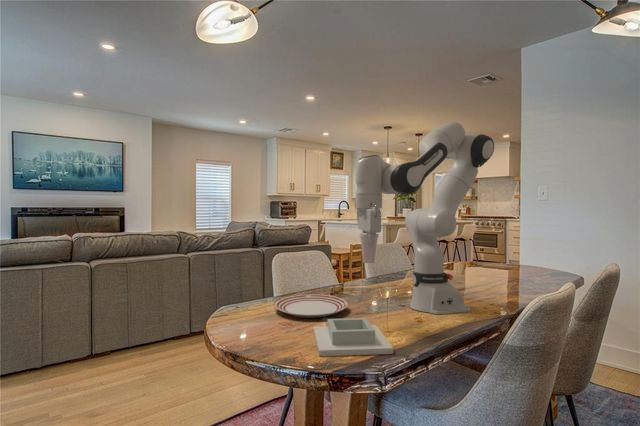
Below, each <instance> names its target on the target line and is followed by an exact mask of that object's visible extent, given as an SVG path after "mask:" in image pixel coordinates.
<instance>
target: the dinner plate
mask: <svg viewBox="0 0 640 426" xmlns="http://www.w3.org/2000/svg"><path fill="white" fill-rule="evenodd" d="M274 307H275V308H276V309H277V310H278V311H280V312H282V313H285V314H288V315H291V316H294V317H298V318H307V319H308V318H310V319H311V318H324V317H328V316H331V315H335V314H337V313H340V312H341V311H343V310H344V309H346V308H347V307H348V302H347V301H346V300H345V299H343V298H341V297H338V296H335V295H334V296H333V295H328V294H310V293H309V294H297V295H292V296H291V295H290V296H287V297H284V298H281V299H279V300H278V301H276V302H275V304H274Z"/></svg>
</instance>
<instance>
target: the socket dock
mask: <svg viewBox="0 0 640 426" xmlns="http://www.w3.org/2000/svg"><path fill="white" fill-rule="evenodd" d="M312 331H313V335H314V340H315V344H316V348H317V354H318V356H319V357H334V356H335V357H336V356H338V357H340V356H361V355H362V356H363V355H364V356H365V355H367V356H368V355H390V354H391V355H393V354H394V347H393V346H392V344H391V342H390V341H389V340H388V339H387V338H386V337H385V335H384V334H383V333H382V331H381V330H380V329H379V328H378V326H377V325H376V324H371V323H370V321H369V320H368V319H367V318H366V317H358V318H357V317H356V318H327V325H326V326H325V325H324V326H323V325H321V326H320V325H319V326H313V330H312Z"/></svg>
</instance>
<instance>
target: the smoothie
mask: <svg viewBox="0 0 640 426" xmlns="http://www.w3.org/2000/svg"><path fill="white" fill-rule="evenodd" d="M359 237H360V243H361V247H360V248H361V255H362V263H363V264H375V258H376V250H377V246H378V245H377V244H378V237H379V233H376V238H375V245H374V246H369V244H368V243H369V242H368V240H369V233H368V232H367V233H359Z"/></svg>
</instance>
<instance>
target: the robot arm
mask: <svg viewBox="0 0 640 426" xmlns="http://www.w3.org/2000/svg"><path fill="white" fill-rule="evenodd" d="M418 151H419V155H420V156H419V157H418V158H416V159H415V160H414V161H409V162H403V163H401V164H396V165H392V164H390V163H388V162H386V161H385V160H383V159H382V157H381V155H380V154H371V155H366V156H362V157H360V158H359V159H357V163H356V166H355V167H356V168H355V183H356V184H355V185H356V192H355V204H354V206H355V207H354V209H356V219H357V220H356V221H357V222H356V223H357V226H358V230H361V232H362V233H367V232H368V233H369V240H368V242H369V243H368V244H369V246H374V245H375V238H376V234H379V233H381V232H382V214H381V213H382V212H381V209H383V194H385V195H396V194H397V195H398V194H401V195H402V194H403V195H411V194H415V193H416V192H417V191H418V190H419V189H420V188H422V187H421V186H422V185H423V183H424V181H425V180H426V178H427V177H428V176H429V175H430V174H431V173H432V172H433V171H434V170H435V169H437V168H438V167H439V165H441V163H442V162H443V161H445V160H446V159H451V160H454V162H453V164H452V166H451V167H450V169H448V171H446V173H444V174H445V175H444V176H443V177H442V178H441V179H440V181H439V183H438V184H437V185H436V187H435V189H434V190H433V193H432V195H433V200H432V202H431V204H430V206H428V207H427V208H425V207H424V208H421V207H420V208H417V209H413V210H411V211H409V212H408V213H407V214H406V216H405V219H404V224H405V225H404V226H405V227H406V229H407V231H408V233H409V235H410V238H411V242H412V243H411V244H412V247H413V255H414V256H413V260H414V261H413V264H414V266H413V267H414V270H413V272H412V285H413V289H412V296H411V301H410V304H409V308H411V309H413V310H415V311H418V312H419V311H420V312H425V313H430V314H434V315H446V314H455V313H467V312H471V307H470V306H469V305H468V304H466V303H465V301H464V300H465V299H464V295H463V293H462V292H461V291H460V290H458V288H456V287H455V286H454V285H452V284H451V283H450V282H449V281H452V280H453V279H454V275H453V274H450V273H446V272H444V268H445V267H444V265H445V264H444V263H445V262H444V261H445V259H444V258H445V257H444V251H443V249H442V248H441V246H440V244H439V241H438V238H445V237H449V236H451V235H452V234H453V233H455V231H456V229H457V218H456V216H457V215H456V214H457V211H458V208H459V206H460V204H461V203H462V201H463V200H464V198H465V197H466V196H467V194H468V192H470V189H471V188H472V186H473V184H474V182H475V180H476V178H477V175H478V174H479V168H481V167H482V166H484V164H486V163H487V162H488V161H489V160H490V159H491V158H492V156H493V154H494V152H495V142H494V140H493V138H492V137H491V136H489V135H486V134H481V133H480V134H479V133H473V132H467V131H466V130H465V128H464V127H463V125H462V124H460V123H459V122H457V121H449V122H445V123H444V124H441V125H440V126H438V127H436V128H435V129H433V130H431V131H430V132H429V133H427V134H426V135H425V136H423V137H422V139H421V140H420V141H419V143H418Z"/></svg>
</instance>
